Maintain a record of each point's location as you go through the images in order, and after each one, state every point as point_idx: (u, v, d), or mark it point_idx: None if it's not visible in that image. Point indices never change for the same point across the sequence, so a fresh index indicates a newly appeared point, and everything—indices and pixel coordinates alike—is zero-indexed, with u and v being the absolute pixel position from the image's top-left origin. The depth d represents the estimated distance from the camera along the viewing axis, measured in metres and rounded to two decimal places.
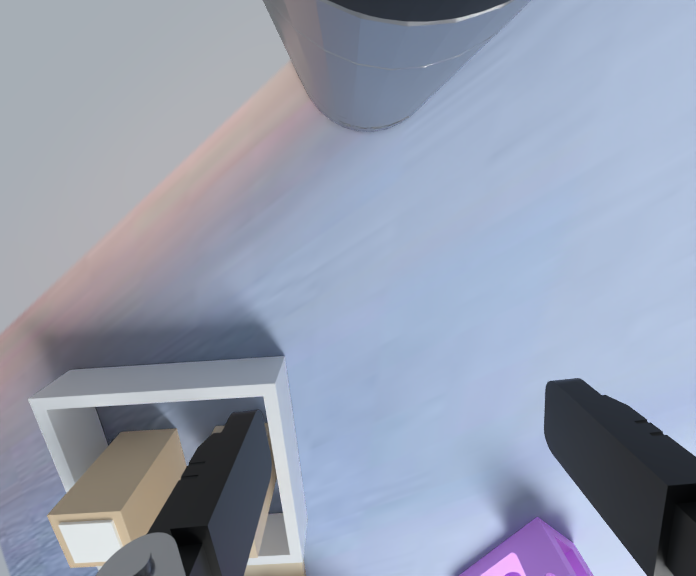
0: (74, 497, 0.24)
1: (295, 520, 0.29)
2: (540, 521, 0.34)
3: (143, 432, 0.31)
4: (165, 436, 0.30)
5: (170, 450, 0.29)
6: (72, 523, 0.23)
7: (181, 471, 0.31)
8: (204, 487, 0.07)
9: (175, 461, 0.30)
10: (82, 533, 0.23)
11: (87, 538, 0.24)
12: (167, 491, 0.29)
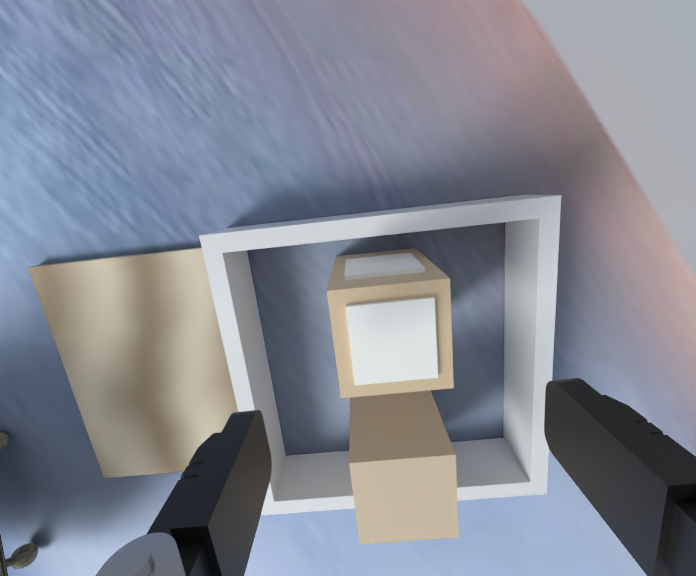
0: None
1: (336, 508, 0.22)
2: None
3: None
4: None
5: None
6: (430, 314, 0.14)
7: None
8: (204, 487, 0.07)
9: None
10: (414, 331, 0.14)
11: (404, 337, 0.14)
12: None
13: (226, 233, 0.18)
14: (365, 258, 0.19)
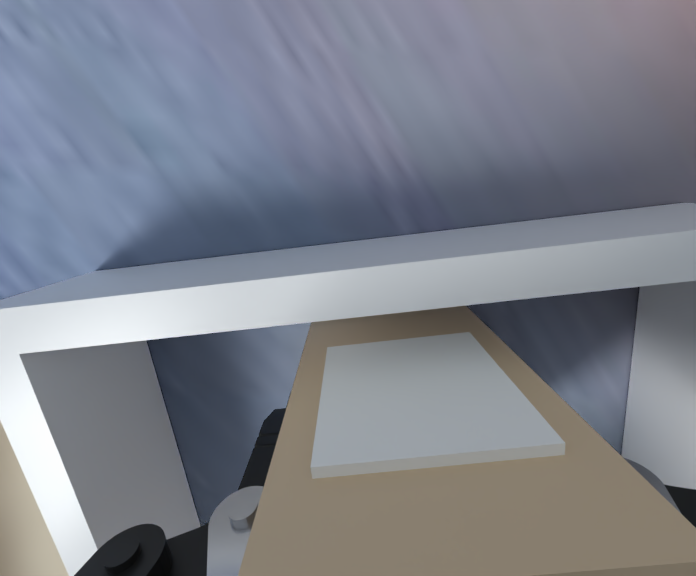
0: None
1: None
2: None
3: None
4: None
5: None
6: None
7: None
8: None
9: None
10: None
11: None
12: None
13: (21, 308, 0.07)
14: (370, 348, 0.08)
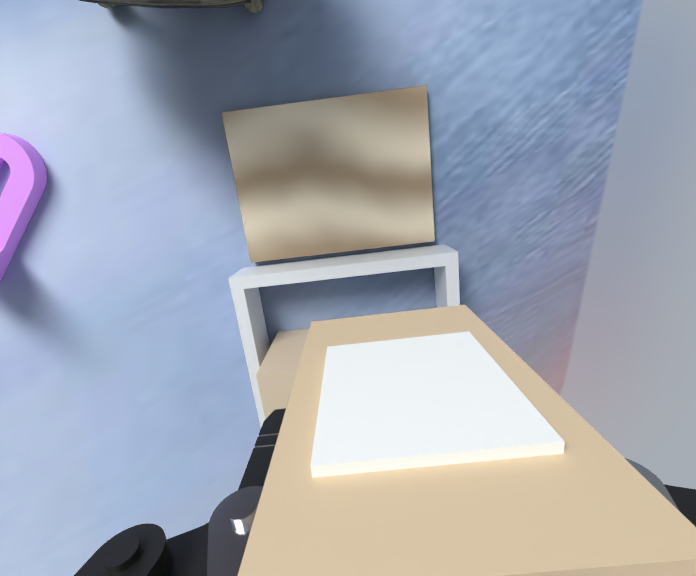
0: None
1: (241, 335, 0.29)
2: None
3: None
4: None
5: None
6: None
7: None
8: None
9: None
10: None
11: None
12: None
13: (458, 269, 0.27)
14: (370, 347, 0.08)
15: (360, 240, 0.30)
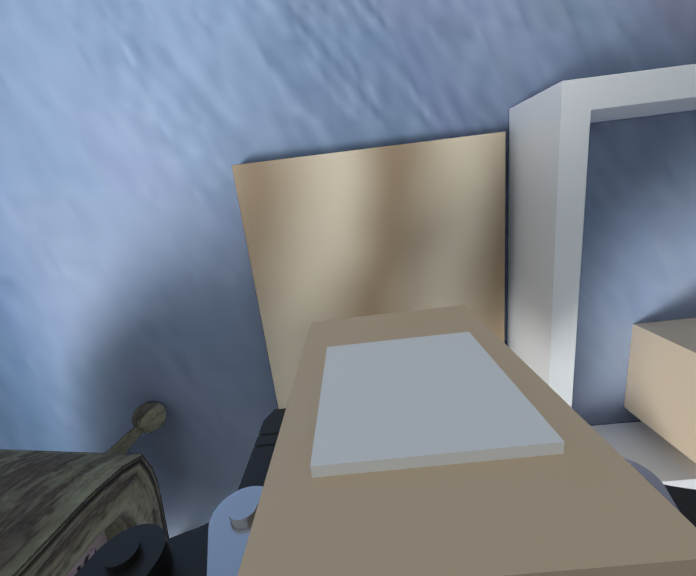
0: None
1: None
2: None
3: None
4: None
5: None
6: None
7: None
8: None
9: None
10: None
11: None
12: None
13: (605, 76, 0.11)
14: (370, 347, 0.08)
15: (487, 275, 0.17)
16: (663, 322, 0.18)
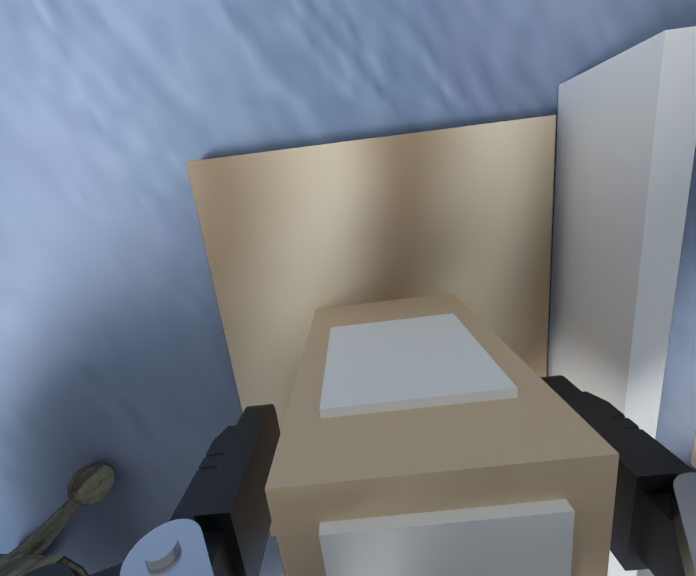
0: None
1: None
2: None
3: None
4: None
5: None
6: (552, 539, 0.05)
7: None
8: (224, 477, 0.07)
9: None
10: None
11: None
12: None
13: None
14: (367, 327, 0.10)
15: (526, 305, 0.13)
16: None
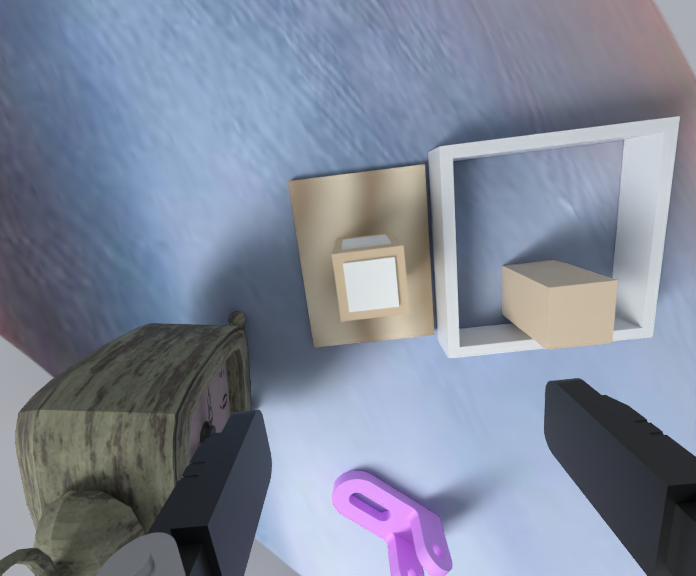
0: None
1: (503, 351, 0.31)
2: (438, 520, 0.41)
3: None
4: None
5: None
6: (393, 267, 0.24)
7: None
8: (204, 487, 0.07)
9: None
10: (383, 277, 0.24)
11: (377, 281, 0.24)
12: None
13: (457, 144, 0.27)
14: (355, 238, 0.29)
15: (420, 237, 0.32)
16: (517, 264, 0.33)
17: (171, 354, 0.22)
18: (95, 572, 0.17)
